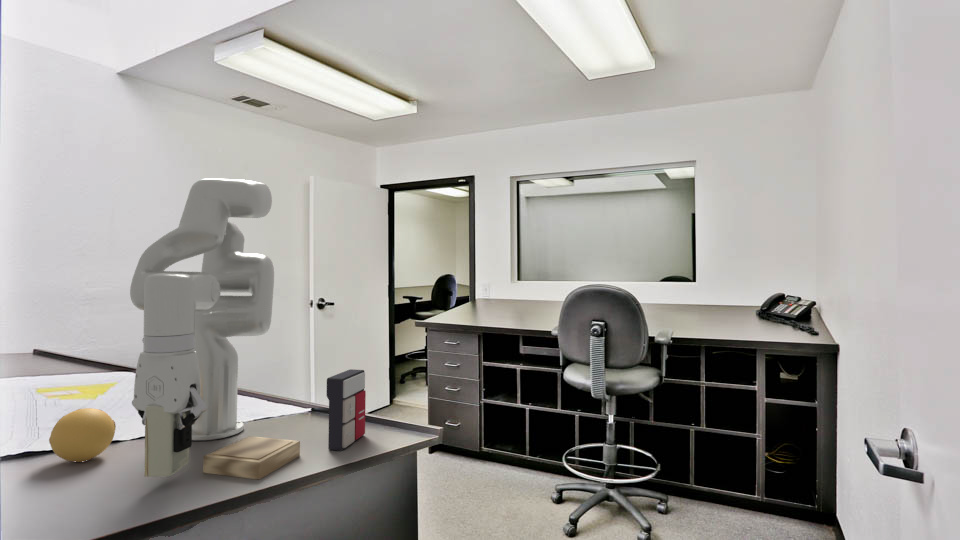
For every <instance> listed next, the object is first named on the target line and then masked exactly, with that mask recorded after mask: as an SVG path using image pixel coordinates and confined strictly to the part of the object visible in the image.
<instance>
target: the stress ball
mask: <svg viewBox="0 0 960 540" xmlns="http://www.w3.org/2000/svg"><path fill="white" fill-rule="evenodd" d="M115 433H116V422H115V420H114V419H113V418H112V417H111V416H110V415H109V414H108V413H107V412H106V411H103V410H102V409H98V408H94V407H92V408H91V407H89V408H88V407H87V408H86V407H85V408H78V409H75V410H74V411H71V412H68V413H67V414H65V415H63V416H62V417H60V418H59V420H58V421H57V422H56V423H55V425H54V426H53V428H52V429H51V433H50V437H49V439H48V441H49V444H50V447H51V450H52V451H53V453H54V454H55V455H56V456H57V457H59V458H60V459H62V460H64V461H69V462H73V461H76V462H82V461H86V460H90V459H91V458H92V459H93V458H96V457H97V456H99V455H101V454H102V453H103V452H105V450H107V448H108V447H110V445H111V443H112V442H113V440H114V436H115ZM92 459H91V460H92ZM91 460H90V461H91ZM82 463H83V462H82Z"/></svg>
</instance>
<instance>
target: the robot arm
mask: <svg viewBox="0 0 960 540" xmlns="http://www.w3.org/2000/svg"><path fill="white" fill-rule="evenodd" d="M272 205H273V197H272V192H271V190H270V187H269V186H268V185H267V184H266V183H264V182H259V181H253V180H247V179H246V180H245V179H229V178H215V177H214V178H212V177H211V178H202V179H199V180H197V181H196V182H194V183H193V184H192V186H191V187H190V190H189V192H188V196H187V199H186V202H185V205H184V208H183V210H182V215H181V217H180V221H179V224H178V226H177V228H175V229H172V231H168V232H167V233H166V234H165V235H163V236H162V237H160V238H158V239H157V240H155V242H153V243H152V244H151V245H150V246H148V247H147V248H146V249H145V250H144V251H143V253H142V254H141V255H140V257H139V259H138V262H137V265H136V267H135V269H134V274H133V276H132V280H131V283H130V289H129V295H130V300H131V302H132V304H133V306H135V308H137V309H138V310H140V311H143V338H142V339H141V341H142V343H143V346H142V347H143V351H142V352H140V353H139V356H138V360H137V362H136V363H137V365H136V369H135V375H134V376H135V377H134V386H133V387H134V389H133V399H132V400H131V405H132V406H133V408H134V409H135V410H136V411H137V413H138V415H139V417H140V418H141V419H142V420H141V424H142V425H143V426H145V423H146V406H147V405H154V406H160V407H164V412H166V413H170V414H175V421H176V425H177V429H174V452H177V453H178V452H180V451H183V450H185V449H187V448H189V449H190V448H191V447H192V443H193V441H212V440H218V439H224V438H229V437H231V436H235V435H237V434H239V433H241V432H243V431H244V429H245V424H244V422H242V421H240V420H238V386H239V385H238V384H239V383H238V380H239V379H238V378H239V377H238V376H239V375H238V374H239V372H238V370H239V356H238V352H237V350H236V348H235V347H234V346H233V344H232V343H231V342H230V340H228V338H230V337H231V338H232V337H259V336H263V335H265V334H266V333H268V331H269V330H270V328H271V327H270V326H271V322H272V314H273V313H272V312H273V302H274V301H273V298H274V287H275V286H274V285H275V268H274V265H273V261H272V259H271V258H270V257H269V256H267V255H264V254H260V253H244V248H245V236H244V234H243V232H242V231H241V229H240V228H239V227H238V225H236V224H235V222H233V221H232V220H231V219H230V218H243V219H245V218H246V219H259V218H260V219H261V218H264V217H266V216H267V215H268V214H269V213H270V211H271V208H272ZM200 255H203V256H202V263H201V270H200V271H180V270H179V271H175V270H174V271H173V270H172V271H170V270H169V271H168V270H166V269H167V268H169V267H171V266H172V265H174V264H176V263H178V262H181V261H184V260H187V259H190V258H193V257H198V256H200ZM221 293H240V294H241V293H245V294H247V293H250V294H251V295H221ZM183 412H185V414H186V417H185V418H184V419H183V415H182V413H183Z"/></svg>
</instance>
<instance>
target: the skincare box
mask: <svg viewBox="0 0 960 540" xmlns="http://www.w3.org/2000/svg"><path fill="white" fill-rule="evenodd" d="M182 415H183V419H184V418H185V417H186V414H185V412H183V413H182ZM174 429H177V425H176V421H175V414H170V413H166V412H164V407H160V406H154V405H147V406H146V423H145V425H144V477H145V478H146V477H147V478H149V477H152V478H159V477H160V478H162V477H163V478H164V477H165V478H169V477H171V476H173V475H174V474H175V473H177V472H178V471H180V469H182V468H184V467H185V466H186V465H187V464H189V462H190V448H187V449H185V450H183V451H180V452H178V453H177V452H174Z"/></svg>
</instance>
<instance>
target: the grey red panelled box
mask: <svg viewBox="0 0 960 540" xmlns="http://www.w3.org/2000/svg"><path fill="white" fill-rule="evenodd" d="M365 388H366V372H365V370H364V369H354V368H353V369H348V370H345V371H343V372H340V373H337V374H335V375H331V376H330V377H327V378H326V397H327V398H326V399H328V439H327V440H328V443H327V444H328V446H327V448H328V450H329V451H340V452H342V451H343V450H344V449H346V448H347V447H349V446H350V445H351V444H353V443H355V442H357V440H359V438H361V437H363V436H364V435H365V434H366V390H365Z"/></svg>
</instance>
